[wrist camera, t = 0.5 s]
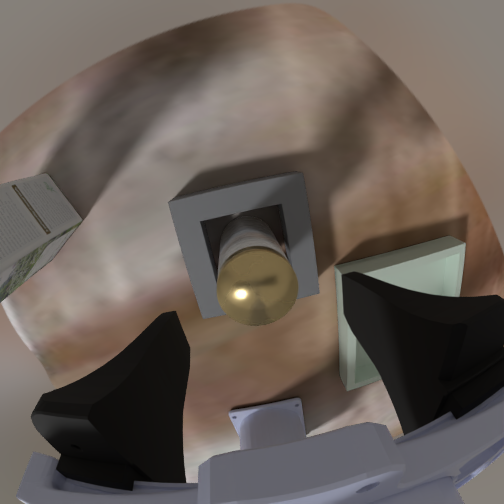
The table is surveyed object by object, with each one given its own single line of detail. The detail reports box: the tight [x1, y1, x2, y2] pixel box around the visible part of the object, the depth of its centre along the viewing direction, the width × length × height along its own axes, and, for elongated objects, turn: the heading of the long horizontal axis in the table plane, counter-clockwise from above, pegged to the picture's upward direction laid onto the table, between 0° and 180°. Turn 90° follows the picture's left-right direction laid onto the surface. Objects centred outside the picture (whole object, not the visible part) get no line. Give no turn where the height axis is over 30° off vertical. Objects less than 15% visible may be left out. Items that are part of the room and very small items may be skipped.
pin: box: [217, 216, 299, 326], centre depth 17 cm, size 4×4×8 cm
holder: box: [168, 171, 320, 319], centre depth 20 cm, size 9×9×2 cm
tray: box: [334, 235, 466, 391], centre depth 23 cm, size 13×13×2 cm
